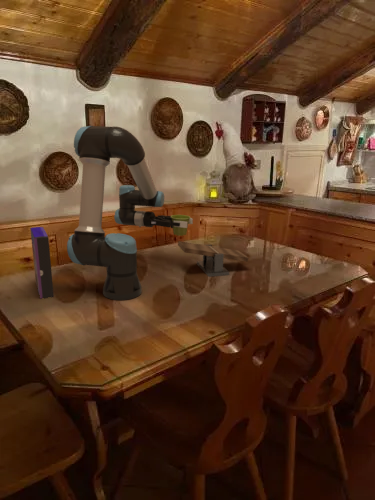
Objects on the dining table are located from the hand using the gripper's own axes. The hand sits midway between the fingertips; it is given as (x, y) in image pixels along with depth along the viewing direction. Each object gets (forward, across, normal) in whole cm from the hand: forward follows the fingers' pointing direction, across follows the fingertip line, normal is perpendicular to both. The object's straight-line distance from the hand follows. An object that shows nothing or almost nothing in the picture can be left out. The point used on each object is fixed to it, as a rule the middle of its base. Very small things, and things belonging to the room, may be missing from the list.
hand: (189, 222), depth 169 cm
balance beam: (+12, 0, -14) cm, 18 cm away
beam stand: (+12, -1, -22) cm, 25 cm away
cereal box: (-47, +47, -23) cm, 70 cm away
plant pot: (-5, 0, -6) cm, 8 cm away
